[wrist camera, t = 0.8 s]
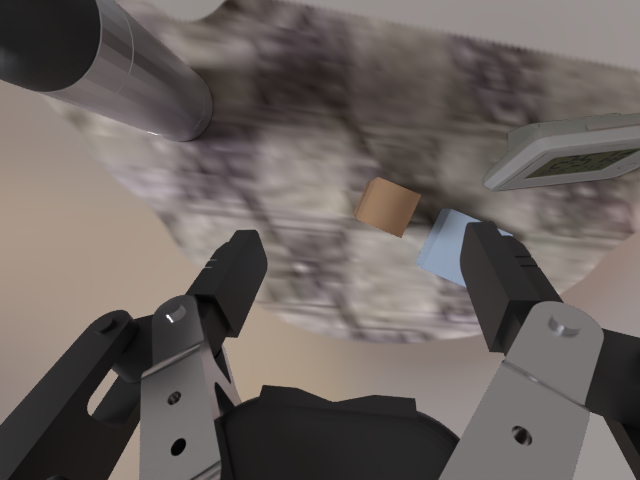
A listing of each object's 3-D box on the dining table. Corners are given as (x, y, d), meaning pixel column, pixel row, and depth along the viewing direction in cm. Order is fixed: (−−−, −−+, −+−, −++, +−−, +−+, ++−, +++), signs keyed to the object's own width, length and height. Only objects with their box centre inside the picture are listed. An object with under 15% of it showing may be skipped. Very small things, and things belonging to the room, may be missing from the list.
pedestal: (415, 263, 37) (421, 268, 34) (442, 208, 36) (451, 208, 33) (469, 286, 37) (481, 293, 34) (498, 232, 36) (513, 234, 33)
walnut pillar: (353, 214, 37) (358, 220, 27) (367, 182, 36) (378, 176, 26) (384, 227, 37) (401, 238, 27) (399, 196, 36) (421, 195, 26)
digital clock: (472, 189, 36) (528, 185, 25) (485, 115, 34) (550, 78, 24) (604, 201, 35) (720, 202, 24) (622, 126, 33) (753, 92, 23)
